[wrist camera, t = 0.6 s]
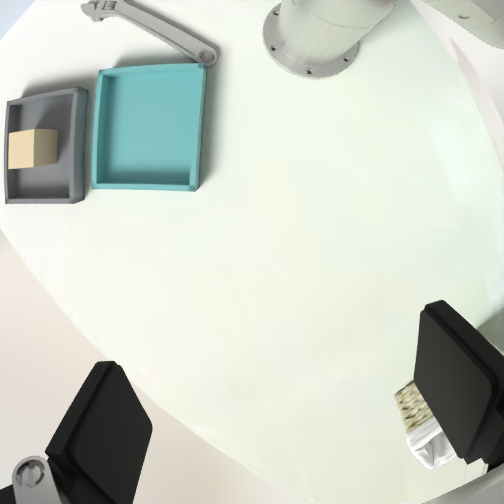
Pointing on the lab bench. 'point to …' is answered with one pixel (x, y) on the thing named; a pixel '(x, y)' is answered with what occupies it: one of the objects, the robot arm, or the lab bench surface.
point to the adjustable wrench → (150, 27)
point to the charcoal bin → (68, 148)
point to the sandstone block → (32, 148)
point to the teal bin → (148, 127)
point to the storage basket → (424, 427)
